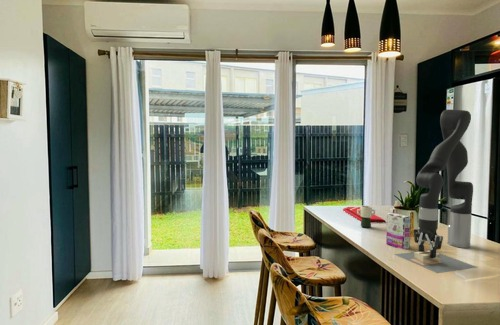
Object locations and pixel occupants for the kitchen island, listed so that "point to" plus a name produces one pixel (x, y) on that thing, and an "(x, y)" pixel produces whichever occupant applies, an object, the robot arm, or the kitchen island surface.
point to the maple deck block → (425, 257)
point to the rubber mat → (439, 263)
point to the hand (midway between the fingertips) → (426, 255)
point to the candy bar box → (398, 230)
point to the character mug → (365, 215)
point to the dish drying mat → (353, 212)
